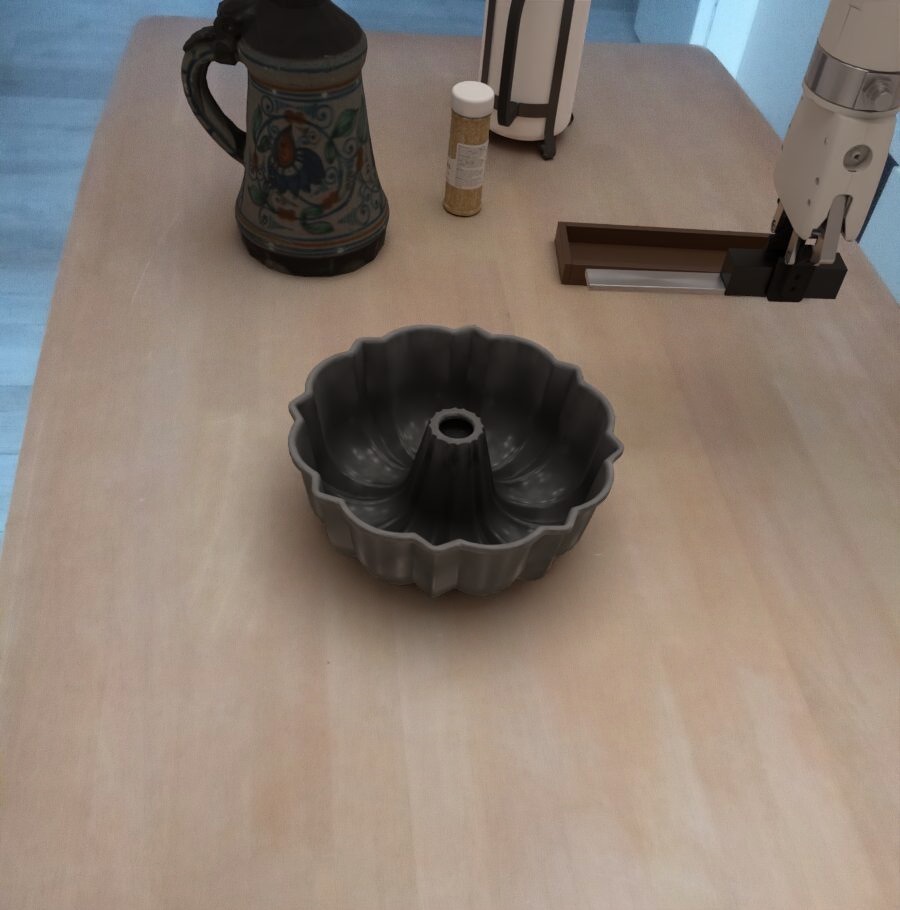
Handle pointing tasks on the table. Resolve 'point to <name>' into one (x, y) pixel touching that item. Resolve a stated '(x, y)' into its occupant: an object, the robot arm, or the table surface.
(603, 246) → the cutlery tray
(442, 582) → the bundt pan
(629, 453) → the table surface
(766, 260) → the knife
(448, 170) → the sprinkles bottle
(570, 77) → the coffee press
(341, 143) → the beer stein
